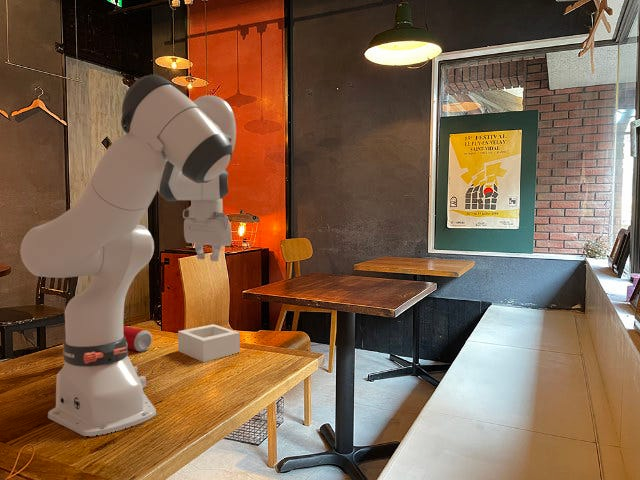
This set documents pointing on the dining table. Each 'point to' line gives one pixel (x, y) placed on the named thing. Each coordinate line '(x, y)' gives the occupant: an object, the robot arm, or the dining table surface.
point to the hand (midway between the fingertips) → (207, 260)
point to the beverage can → (137, 338)
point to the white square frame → (208, 342)
